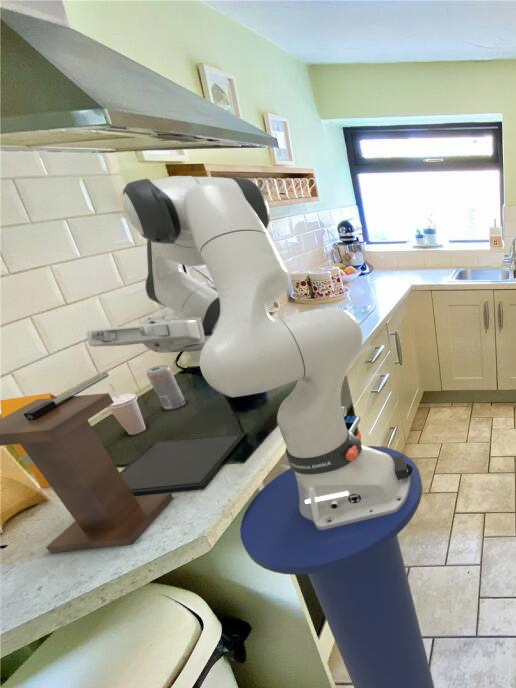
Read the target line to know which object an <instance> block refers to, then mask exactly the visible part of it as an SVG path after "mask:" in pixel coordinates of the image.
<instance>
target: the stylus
mask: <svg viewBox="0 0 516 688" xmlns="http://www.w3.org/2000/svg"><path fill="white" fill-rule="evenodd" d="M109 376H110V374H109V373H108V372H107V371H103V372H102V373H100V374H98V375H96V376H94V377H93V378H91V379H89V380H87V381H85V382H84V383H82V384H79V385H78V386H76V387H74V388H72V389H70V390H69V391H67V392H66V393H64V394H61V395H60V396H57V398H56V399H55V400H53V401H48V402H44V403H42V404H40V405H39V406H37V407H35V408H33V409H31V410H29V411H28V412H26V413H24V416H25V417H26V419H27V420H33V419H38V418H39V417H41V416H43V415H44V414H46V413H48V412H50V411H51V410H53V409H55V408H57V405H59V404H61V403H63V402H64V401H66V400H68V399H70V398H71V397H73V396H78V394H80V393H83V391H85V390H87V389H89V388H90V387H92V386H94V385H95V384H97V383H99V382H102V381H103V380H104V379H106V378H108V377H109Z"/></svg>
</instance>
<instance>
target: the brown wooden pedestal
mask: <svg viewBox="0 0 516 688" xmlns="http://www.w3.org/2000/svg"><path fill="white" fill-rule="evenodd" d="M112 398H113V397H111V395H110V393H109V392H107V393H95V394H81V395H75V396H73V397H71V398H70V399H68V400H66V401H64V402H63V403H61V404H59V405H57V408H55V409H53V410H51V411H50V412H48V413H46V414H44V415H43V416H41V417H39V418H38V419H33V420H27V419H26V417H25V416H24V413H26V412H28V411H29V410H31V409H33V408H35V407H37V406H39V405H40V404H42V403H44V402H48V401H53V400H55V399H56V398H47V399H37V400H35V401H33V402H31V403H30V404H28V405H26V406H24V407H22V408H20V409H18V410H16V411H15V412H13V413H11V414H9V415H7V416H5V417H3V418H0V446H12V445H13V444H20V445H21V446H22V447H23V449H24V450H25V452H26V453H27V454H28V456H29V457H30V458H31V460H32V461H33V463H34V464H35V465H36V467H37V468H38V470H39V471H40V472H41V474H42V475H43V476H44V478H45V479H46V481H47V482H48V483H49V485H50V486H49V487H50V488H51V489H52V491H53V492H54V493H55V494H56V496H57V497H58V499H59V500H60V501H61V503H62V504H63V506H64V507H65V508H66V510H67V512H68V513H69V514H70V515H71V517H72V518H73V519H74V522H73V523H71V524H70V525H69V526H68V527H67V528H66V529H64V530H63V531H62V532H61V533H60V534H59V535H58V536H57V537H56V538H55V539H53V540H52V541H51V542H50V543H49V544H48V545H47V546H46V547H45V548H46V550H48V552H49V553H51V554H53V553H63V552H73V551H81V550H92V549H101V548H110V547H111V548H112V547H119V546H127V545H128V546H129V545H133V544H134V543H135V542H136V541H137V540H138V538H140V536H141V535H142V534H143V533H144V532H145V531H146V530H147V529H148V528H149V527H150V525H151V524H152V523H153V522H154V520H156V518H158V516H159V515H160V514H161V513H162V512H163V511H164V509H165V508H166V507H167V506H168V505H169V504H170V503H171V502H172V501H173V499H174V497H173V495H172V492H170V493H160V494H150V495H140V496H134V495H133V493H132V492H131V490H130V489H129V487H128V485H127V484H126V482H125V480H124V479H123V477H122V475H121V474H120V472H121V471H119V469H118V467H117V465H116V464H115V462H114V461H113V459H112V458H111V456H110V454H109V453H108V451H107V450H106V447H105V446H104V444H103V443H102V441H101V439H100V438H99V436H98V435H97V433H96V431H95V430H94V428H93V426H92V424H91V423H90V421H89V420H90V419H92V418H93V417H94V416H96V415H98V414H99V413H101V412H102V411H104V410H105V409H107V407H108V406H110V405H111V404H113V403H114V402H113V400H112Z"/></svg>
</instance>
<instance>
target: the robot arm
mask: <svg viewBox="0 0 516 688" xmlns="http://www.w3.org/2000/svg"><path fill="white" fill-rule="evenodd" d="M122 195H123V198H122V205H123V210H124V213H125V216H126V218H127V220H128V221H129V223H130V224H131V226H132V227H133V228H134V229H135V231H136V232H138V233H139V234H140V236H141V237H142V238H144V239H146V240H147V241H146V258H147V259H146V260H147V275H146V279H145V288H144V289H145V293H146V294H147V297H148V299H150V300H151V301H153V302H155V303H157V304H158V305H161V306H164V307H166V308H168V309H170V310H171V311H173V312H175V313H177V314H178V315H176V316H174V315H161V314H156V315H151V316H149V317H147V318H145V319H144V320H143V321H142V323H141V324H136V325H125V326H115V327H105V328H104V327H103V328H92V329H88V330H86V340H87V342H88V345H89V346H91V347H118V346H119V347H121V346H129V345H130V346H131V345H139V344H143V345H144V347H146V348H147V349H148V350H150V351H152V352H154V353H157V354H158V353H159V354H165V353H166V354H167V353H180V352H184V353H187V352H189V353H190V352H191V353H192V352H198V351H199V352H200V353H199V369H200V371H201V372H200V373H201V374H202V377H203V378H204V380H205V381H206V383H207V384H208V385H209V386H210V388H212V389H213V390H215V391H216V392H217V393H220V394H222V395H223V396H226V397H229V398H238V397H239V398H240V397H245V396H251V395H257V394H261V393H266V392H268V391H271V390H273V389H276V388H277V389H278V388H280V387H282V386H286V385H287V384H291V383H293V382H296V385H294V388H293V390H292V391H291V392H290V394H288V395H287V396H286V398H284V400H282V402H281V403H280V404H279V407H278V410H277V413H276V423H277V426H278V428H279V432H280V434H281V436H282V439H283V442H284V445H285V454H286V455H285V456H286V457H287V462H288V464H289V468H291V469H292V470H293V472H295V476H296V480H297V485H298V491H299V511H300V513H301V514H302V515H303V516H304V517H305V518H307V519H309V520H311V521H313V522H314V524H315V526H316V528H317V529H319V530H325V529H329V528H334V527H338V526H342V525H346V524H350V523H354V522H358V521H362V520H367V519H371V518H375V517H379V516H383V515H387V514H391V513H395V512H397V511H398V510H399V509H400V508H401V507H402V505H403V504H404V503H405V501H406V499H407V497H408V494H409V490H410V475H411V474H412V471H413V468H412V466H411V465H409V464H406V462H405V457H404V455H405V454H404V455H403V456H398V457H394V458H393V459H392V458H391V456H390V455H388V454H387V453H384V452H381V451H378V450H375V449H372V448H370V447H367V446H368V445H364V444H362V443H361V439H362V434H361V431H360V430H358V432H357V435H354V434H353V433H352V432H351V431H350V429H348V427H347V425H346V421H345V417H344V411H343V406H342V388H343V384H344V381H345V377H346V374H347V372H348V370H349V367H350V366H351V364H352V362H354V360H355V359H356V358H357V356H358V355H359V353H360V352H361V349H362V345H363V332H362V329H361V325H360V324H359V322H358V321H357V320H356V318H355V317H354V316H353V315H352V314H351V313H350V312H349V311H347V310H346V309H344V308H342V307H325V308H313V309H309V310H306V311H302V312H298V313H297V312H296V313H294V314H289V315H285V316H282V317H277V318H273V317H271V315H270V313H269V310H268V309H269V308H270V307H271V306H272V305H273V304H274V303H276V302H277V301H278V300H279V299H280V298H281V297H282V296H283V295H284V294H285V292H286V291H287V289H288V288H289V285H290V274H289V271H288V270H287V268H286V265H285V264H284V262H283V260H282V258H281V256H280V254H279V252H278V250H277V247H276V246H275V244H274V242H273V240H272V238H271V236H270V234H269V232H268V230H267V229H268V226H269V224H270V221H271V215H270V208H269V207H270V206H269V204H268V201H267V199H266V196H265V195H264V193H263V191H262V190H261V188H260V187H259V186H258V185H257V184H256V183H255V182H254V181H252V180H251V179H249V178H244V177H239V176H229V177H220V176H193V175H172V176H171V175H170V176H168V177H163V178H156V179H149V178H143V179H138V180H137V179H136V180H134V181H131V182H127V184H126V185H125V186H124V188H123V190H122ZM179 265H182V266H186V267H187V266H188V267H198V266H199V267H200V266H206V269H207V271H208V274H209V275H210V277H211V280H212V282H213V285H214V288H215V289H213V288H212V287H210V286H208V285H206V284H205V283H202V282H201V281H200V280H198V279H196V278H194V277H193V276H191V275H189V274H188V273H186V272H185V271H184V270H183V269H181V268H180V267H179ZM407 469H408V470H407Z"/></svg>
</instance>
